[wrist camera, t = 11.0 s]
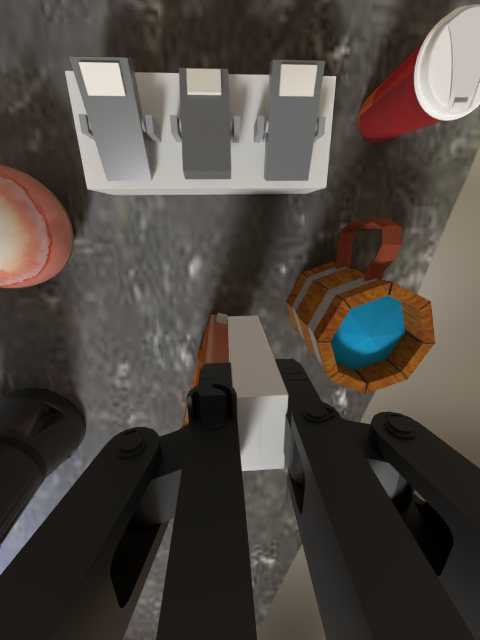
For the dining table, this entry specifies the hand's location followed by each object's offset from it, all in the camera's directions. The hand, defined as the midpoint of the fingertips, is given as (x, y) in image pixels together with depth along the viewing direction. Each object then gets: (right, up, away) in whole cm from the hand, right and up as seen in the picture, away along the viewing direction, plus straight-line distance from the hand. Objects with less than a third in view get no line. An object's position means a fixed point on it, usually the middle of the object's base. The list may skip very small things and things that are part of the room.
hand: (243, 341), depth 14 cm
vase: (-28, +14, +23) cm, 39 cm away
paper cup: (+18, +28, +22) cm, 39 cm away
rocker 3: (+5, +19, +12) cm, 23 cm away
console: (-4, +23, +21) cm, 32 cm away
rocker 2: (-3, +19, +11) cm, 23 cm away
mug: (+14, +7, +29) cm, 33 cm away
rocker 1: (-11, +19, +11) cm, 25 cm away
